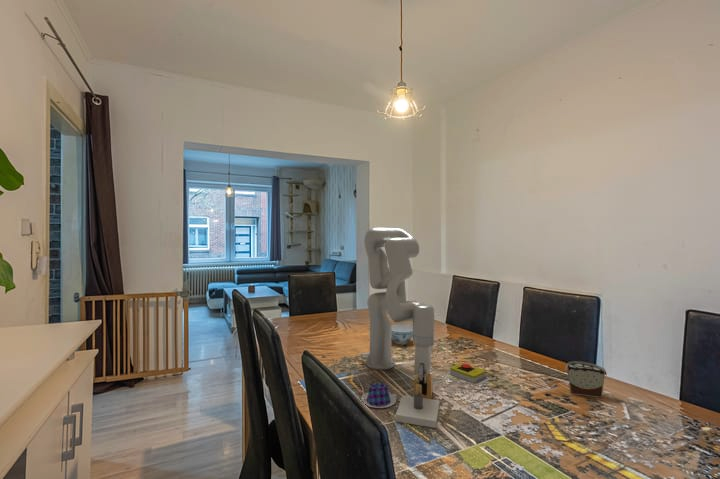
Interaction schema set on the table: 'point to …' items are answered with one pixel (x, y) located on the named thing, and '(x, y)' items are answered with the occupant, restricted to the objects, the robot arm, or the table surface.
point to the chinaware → (401, 333)
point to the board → (418, 409)
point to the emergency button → (469, 373)
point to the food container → (585, 378)
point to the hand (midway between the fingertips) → (423, 388)
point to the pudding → (379, 396)
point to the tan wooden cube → (429, 385)
